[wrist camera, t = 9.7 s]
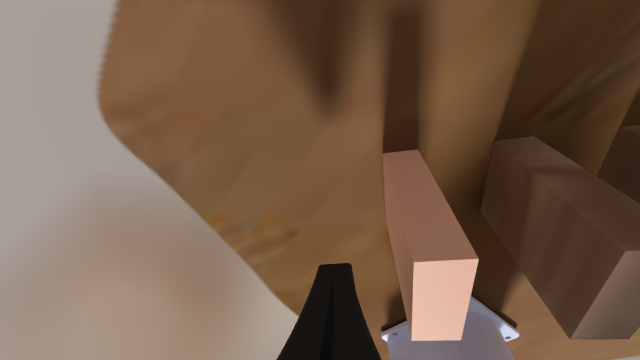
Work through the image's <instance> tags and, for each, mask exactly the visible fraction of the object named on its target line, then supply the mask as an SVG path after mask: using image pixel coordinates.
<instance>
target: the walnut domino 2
mask: <svg viewBox="0 0 640 360" xmlns="http://www.w3.org/2000/svg"><path fill="white" fill-rule="evenodd" d="M597 177H599V178H600V179H602V180H603V181H605V182H607V183H608V184H610V185H611V186H613V187H614V188H616V189H617V190H619V191H621V192H622V193H624V194H625V195H627V196H628V197H630V198H632V199H633V200H635V201H636V202H638V203H639V204H640V125H631V126H623V127H619V129H618V132H617V134H616V136H615V138H614V140H613V143H612V145H611V147H610V149H609V151H608V154H607V156H606V158H605V160H604V162H603V165H602V167H601V169H600V171H599V173H598V176H597Z"/></svg>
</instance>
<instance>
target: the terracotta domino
mask: <svg viewBox="0 0 640 360" xmlns="http://www.w3.org/2000/svg"><path fill="white" fill-rule="evenodd" d="M383 173H384V194H385V216H386V222H387V227H388V232H389V237H390V241H391V246H392V251H393V256H394V260H395V265H396V270H397V275H398V279H399V284H400V289H401V294H402V298H403V303H404V308H405V313H406V317H407V322H408V327H409V332H410V336H411V341H441V340H461V338H462V333H463V329H464V324H465V320H466V315H467V311H468V306H469V301H470V297H471V292H472V288H473V283H474V279H475V274H476V270H477V265H478V260H479V258H478V256H477V255H476V253H475V251H474V249H473V247H472V246H471V244H470V242H469V240H468V238H467V237H466V235H465V233H464V231H463V229H462V228H461V226H460V224H459V222H458V220H457V219H456V217H455V215H454V213H453V212H452V210H451V208H450V206H449V204H448V203H447V201H446V199H445V197H444V195H443V194H442V192H441V190H440V188H439V186H438V185H437V183H436V181H435V179H434V177H433V176H432V174H431V172H430V170H429V168H428V167H427V165H426V163H425V161H424V159H423V158H422V156H421V154H420V152H419V150H418V149H417V150H408V151H399V152H391V153H383Z"/></svg>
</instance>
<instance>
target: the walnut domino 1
mask: <svg viewBox="0 0 640 360" xmlns="http://www.w3.org/2000/svg"><path fill="white" fill-rule="evenodd" d="M480 211H481V213H482V214H483V216H484V217H485V219H486V220H487V221H488V223H489V224H490V226H491V227H492V229H493V230H494V231H495V233H496V234H497V236H498V237H499V239H500V240H501V242H502V243H503V244H504V246H505V247H506V249H507V250H508V252H509V253H510V254H511V256H512V257H513V259H514V260H515V262H516V263H517V264H518V266H519V267H520V269H521V270H522V272H523V273H524V275H525V276H526V277H527V279H528V280H529V282H530V283H531V285H532V286H533V287H534V289H535V290H536V292H537V293H538V295H539V296H540V297H541V299H542V300H543V302H544V303H545V305H546V306H547V308H548V309H549V310H550V312H551V313H552V315H553V316H554V318H555V319H556V320H557V322H558V323H559V325H560V326H561V328H562V329H563V330H564V332H565V333H566V335H567V336H568V338H569V339H570V340H574V339H629V338H630V337H631V336H632V335H633V334H634V332H635V331H636V330H637V329H638V328H639V327H640V204H639V203H638V202H636V201H635V200H633V199H632V198H630V197H628V196H627V195H625V194H624V193H622V192H621V191H619V190H617V189H616V188H614V187H613V186H611V185H610V184H608V183H607V182H605V181H603V180H602V179H600V178H599V177H597V176H596V175H594V174H592V173H591V172H589V171H588V170H586V169H585V168H583V167H581V166H580V165H578V164H577V163H575V162H574V161H572V160H570V159H569V158H567V157H566V156H564V155H563V154H561V153H559V152H558V151H556V150H555V149H553V148H552V147H550V146H549V145H547V144H545V143H544V142H542V141H541V140H539V139H538V138H536V137H534V136H531V137H522V138H514V139H505V140H496V141H494V143H493V148H492V153H491V158H490V163H489V168H488V173H487V179H486V184H485V189H484V194H483V199H482V204H481V209H480Z"/></svg>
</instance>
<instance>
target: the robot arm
mask: <svg viewBox="0 0 640 360" xmlns="http://www.w3.org/2000/svg"><path fill="white" fill-rule="evenodd" d="M381 336H382V339H384V340H385V341H387V342H388V350H389V357H390V360H515V359H514V357H513V355H512V353H511V351H510V349H509V347H508V345H507V343H506V341H509V340H512V339H515V338H517V337H519V333H518V331H517V330H516V329H515V328H514V327H512V326H511V325H510V324H508V323H507V322H506V321H504V320H503V319H502V318H500V317H499V316H498V315H496V314H495V313H494V312H492V311H491V310H490V309H489V308H487V307H486V306H485V305H483V304H482V303H481V302H479V301H478V300H477V299H475V298H474V297H473V296H471V297H470V301H469V306H468V311H467V315H466V320H465V324H464V329H463V333H462V338H461V340H441V341H411V336H410V332H409V327H408V322H407V321H405V322H403V323H401V324H398V325H396V326H394V327H392V328H390V329H388V330H386V331H384V332H382V333H381ZM277 360H381V358H380V355H379V353H378V351H377V349H376V346H375V344H374V342H373V339H372V337H371V334H370V332H369V329H368V327H367V324H366V321H365V319H364V316H363V313H362V310H361V307H360V304H359V301H358V298H357V294H356V290H355V284H354V278H353V272H352V265H351V264H349V263H342V264H324V265H320V266H319V267H318V271H317V274H316V277H315V280H314V283H313V285H312V288H311V291H310V293H309V296H308V298H307V300H306V303H305V305H304V307H303V310H302V312H301V314H300V316H299V318H298V321H297V323H296V324H295V327H294V329H293V331H292V333H291V335H290V337H289V338H288V340H287V342H286V344H285V346H284V348H283V349H282V351H281V353H280V355H279V356H278V358H277Z"/></svg>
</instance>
